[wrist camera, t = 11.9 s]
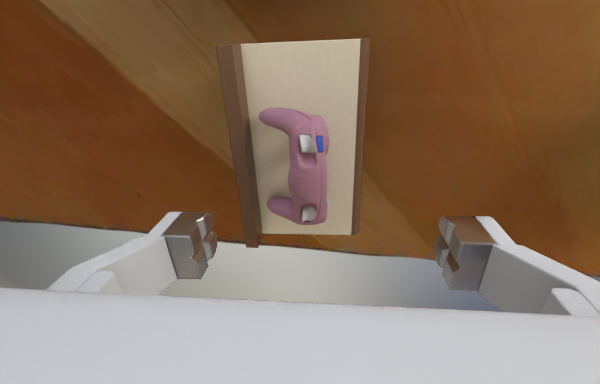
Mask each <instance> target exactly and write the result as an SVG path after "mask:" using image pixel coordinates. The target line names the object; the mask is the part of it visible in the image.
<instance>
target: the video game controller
mask: <svg viewBox="0 0 600 384" xmlns="http://www.w3.org/2000/svg"><path fill="white" fill-rule="evenodd" d="M259 119H260V121H262V122H263V123H264V124H265V125H268V126H271V127H274V128H276V129H279V130H281V131H283V132H285V133H286V134H287V135H288V137H289V153H290V167H289V172H288V185H289V189H290V192H291V194H292V198H290V197H284V196H277V197H272V198H270V199H269V200H268V201H267V207H268V209H269V210H270V211H271V212H273V213H275V214H277V215H279V216H281V217H284V218H286V219H288V220H290V221H292V222H294V223H296V224H300V225H316V224H320V223H323V222H325V220H326V218H327V208H328V204H329V202H328V199H327V162H326V155H327V152H328V149H329V134H328V129H327V126H326V123H325V121H324V119H323V118H322V117H321V116H320V115H309V114H307V113H305V112H302V111H298V110H294V109H288V108H268V109H266V110H264V111H262V112H261V113H260V114H259Z"/></svg>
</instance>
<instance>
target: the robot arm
mask: <svg viewBox="0 0 600 384" xmlns="http://www.w3.org/2000/svg"><path fill="white" fill-rule="evenodd" d="M212 225H213V219H212V215H211V214H210V213H197V212H168V213H167V214H166V215H165V216H164V217H163V219H162V220H161V221H160V222H159V223H158V224H157V225H156V226H155V227H154V228H153V229H152V230H151V231H150V232H149V233H148V234H147V235H146V236H141V237H138V238H136V239H134V240H132V241H130V242H127V243H125V244H123V245H121V246H118V247H116V248H114V249H112V250H110V251H107V252H105V253H103V254H101V255H99V256H96V257H94V258H92V259H90V260H87V261H85V262H83V263H81V264H78V265H76V266H75V267H72V268H70V269H69V270H68V271H67V272H66V273H64V274H63V275H62V276H61V277H60V278H59V279H58V280H56V282H54V283H53V284H52V285H51V286H50V287H48V289H46V290H36V289H14V288H0V384H600V282H598V281H596V280H594V279H592V278H590V277H588V276H586V275H584V274H582V273H580V272H577V271H575V270H573V269H571V268H569V267H567V266H565V265H563V264H561V263H558V262H556V261H554V260H552V259H550V258H548V257H546V256H544V255H541V254H539V253H537V252H535V251H533V250H531V249H529V248H527V247H525V246H522V245H516V244H515V243H514V241H513V240H512V239H511V238H510V237H509V236H508V235H507V234H506V232H505V231H504V230H503V229H502V228H501V227H500V226H499V224H498V223H497V222H496V221H495V220H494V219H493V218H492V217H490V216H473V217H441V219H440V221H439V225H438V228H439V230H440V232H441V234H440V235H438V236H437V237H436V239H435V245H434V249H435V257H436V261H437V263H438V265H439V266H441V267H442V268H443V269H444V270H443V276H444V278H445V280H446V283H447V285H448V287H449V289H452V290H468V291H478V293H479V294H480V295H482V296H483V297H484V298H485V299H486V300H488V301H489V302H490V303H491V304H492V305H494V306H495V307H496V308H497V309H498V310H500V311H501V312H493V311H473V310H451V309H431V308H410V307H389V306H368V305H347V304H327V303H306V302H284V301H265V300H243V299H223V298H203V297H181V296H161V295H158V294H160V293H161V292H163V291H164V290H165V289H167V288H168V287H169V286H171V285H172V284H173V283H175V282H176V281H177V280H178V279H201V278H202V276H203V274H204V273H205V271H206V269H207V267H208V264H207V261H208V260H210V259H211V258H213V256H214V254H215V252H216V247H217V237H216V233H215V232H214V231H213V230H212V229H211V227H212Z"/></svg>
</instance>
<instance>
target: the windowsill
mask: <svg viewBox="0 0 600 384" xmlns="http://www.w3.org/2000/svg"><path fill="white" fill-rule="evenodd" d="M216 50H217V57H218V63H219V70H220V76H221V83H222V89H223V96H224V103H225V109H226V116H227V122H228V129H229V135H230V142H231V149H232V155H233V162H234V168H235V175H236V181H237V188H238V194H239V201H240V208H241V214H242V221H243V227H244V234H245V240H246V246H247V247H252V248H254V247H255V248H258V246H259V243H260V240H261V238H262V235H263V233H265V234H321V235H355V234H357V233H358V232H359V216H360V200H361V184H362V167H363V151H364V135H365V118H366V102H367V86H368V69H369V53H370V38H365V39H342V40H320V41H297V42H275V43H252V44H230V45H216ZM268 108H288V109H294V110H298V111H302V112H305V113H307V114H309V115H320V116H321V117H322V118H323V119H324V121H325V123H326V126H327V129H328V134H329V149H328V152H327V155H326V162H327V199H328V202H329V204H328V208H327V218H326V220H325V222H323V223H320V224H316V225H300V224H296V223H294V222H292V221H290V220H288V219H286V218H284V217H281V216H279V215H277V214H275V213H273V212H271V211H270V210H269V209H268V207H267V201H268V200H269V199H270V198H272V197H277V196H284V197H290V198H292V194H291V192H290V189H289V185H288V172H289V167H290V153H289V137H288V135H287V134H286V133H285V132H283V131H281V130H279V129H276V128H274V127H271V126H268V125H265V124H264V123H263V122H262V121H260V119H259V114H260V113H261V112H262V111H264V110H266V109H268Z"/></svg>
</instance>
